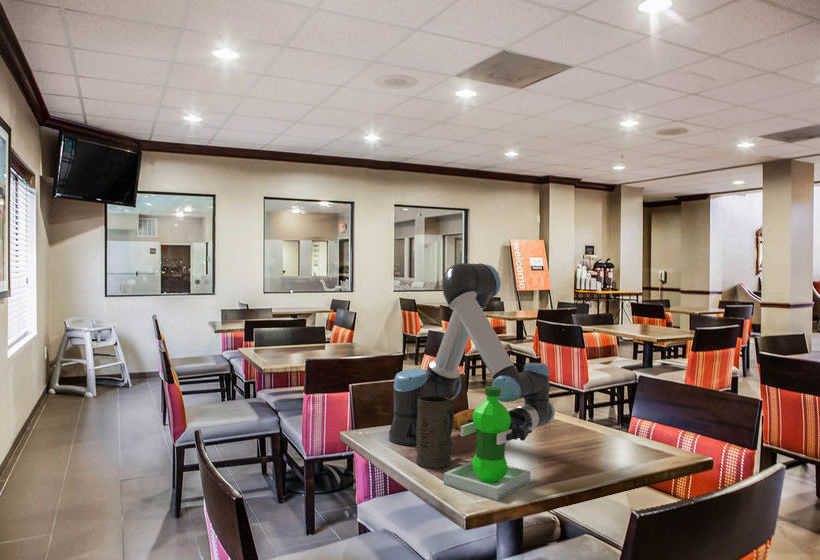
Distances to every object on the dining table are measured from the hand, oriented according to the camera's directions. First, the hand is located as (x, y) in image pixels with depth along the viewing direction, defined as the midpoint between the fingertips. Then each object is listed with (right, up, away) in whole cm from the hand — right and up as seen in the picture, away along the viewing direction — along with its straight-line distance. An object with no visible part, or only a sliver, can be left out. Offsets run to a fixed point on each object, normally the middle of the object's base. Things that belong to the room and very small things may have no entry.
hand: (479, 435), depth 154 cm
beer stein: (-10, -14, +22) cm, 28 cm away
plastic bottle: (+3, -13, +3) cm, 14 cm away
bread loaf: (+4, -14, +60) cm, 62 cm away
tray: (+3, -14, +3) cm, 15 cm away
